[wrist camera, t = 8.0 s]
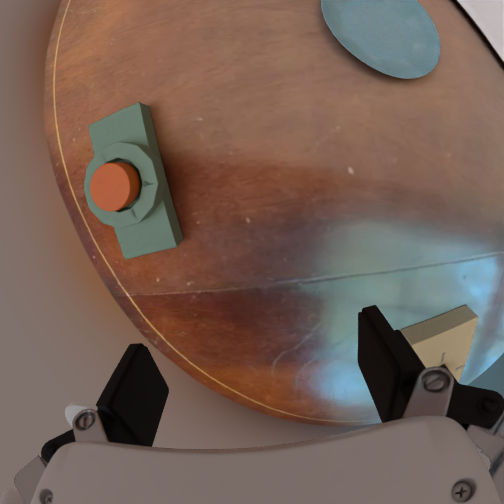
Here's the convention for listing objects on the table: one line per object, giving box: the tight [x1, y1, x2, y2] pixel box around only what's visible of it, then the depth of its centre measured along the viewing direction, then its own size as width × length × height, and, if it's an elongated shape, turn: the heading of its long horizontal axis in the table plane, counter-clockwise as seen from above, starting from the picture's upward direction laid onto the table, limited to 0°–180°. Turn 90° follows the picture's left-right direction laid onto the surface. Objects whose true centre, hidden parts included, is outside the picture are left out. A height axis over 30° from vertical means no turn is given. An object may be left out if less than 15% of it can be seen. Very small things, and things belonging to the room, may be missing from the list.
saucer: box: [321, 0, 441, 79], centre depth 15 cm, size 12×12×2 cm
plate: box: [456, 0, 504, 63], centre depth 11 cm, size 22×22×2 cm
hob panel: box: [401, 305, 478, 383], centre depth 26 cm, size 13×10×3 cm
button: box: [90, 162, 140, 212], centre depth 17 cm, size 3×3×2 cm
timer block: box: [84, 102, 183, 259], centre depth 20 cm, size 12×6×4 cm, turn 13°
